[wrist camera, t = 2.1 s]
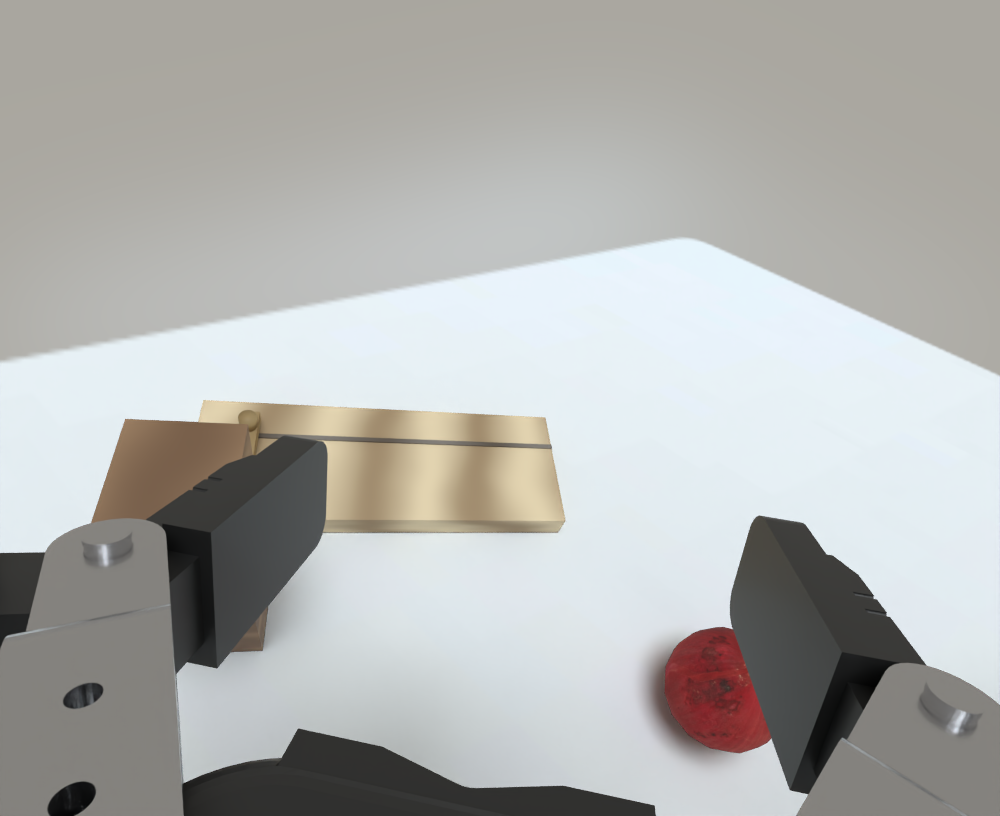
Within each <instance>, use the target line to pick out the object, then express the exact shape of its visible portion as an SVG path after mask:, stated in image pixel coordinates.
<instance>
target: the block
mask: <svg viewBox="0 0 1000 816" xmlns="http://www.w3.org/2000/svg"><path fill="white" fill-rule="evenodd" d="M238 421H239V424H230V423H206V422H183V421H159V420H135V419H125V422H124V425H123V428H122V431H121V434H120V437H119V440H118V443H117V446H116V449H115V452H114V455H113V458H112V461H111V464H110V467H109V470H108V473H107V476H106V479H105V482H104V485H103V488H102V491H101V494H100V498H99V501H98V504H97V507H96V510H95V513H94V516H93V519H92V522H91V523H94V522H99V521H104V520H110V519H122V518H132V519H142V520H146V519H147V518H149V517H150V516H152V515H153V514H155V513H156V512H157V511H159V510H160V509H162V508H163V507H165V506H166V505H168V504H169V503H170V502H172V501H173V500H175V499H176V498H178V497H179V496H181V495H182V494H183V493H185V492H186V491H188V490H192V489H193V487H194V486H195V485H196V484H198V483H199V482H201V481H202V480H204V479H208V476H210V475H211V474H212V473H214V472H215V471H217V470H218V469H220V468H221V467H223V466H224V465H225V464H227V463H230V462H233V461H236V460H239V459H242V458H245V457H247V456H250V455H256V449H257V442H258V436H259V430H260V424H261V415H260V412H254V411H252V410H244V411H242V412H241V413H240V414H239V415H238ZM267 610H268V607H267V608H266V609H265V610H264V611H263V613H262V614H261V615H260V616H259V618H258V619H257V620H256V621H255V623H254V624H253V625H252V626H251V627H250V629H249V630H248V631H247V632H246V634H245V635H244V636H243V637H242V638H241V640H240V641H239V642H238V643H237V645H236V646H235V647H234V648H233V650H232V651H231V652H241V651H262V650H263V643H264V635H265V627H266V618H267Z"/></svg>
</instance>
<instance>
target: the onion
mask: <svg viewBox="0 0 1000 816" xmlns="http://www.w3.org/2000/svg"><path fill="white" fill-rule="evenodd" d="M665 696H666V699H667V702H668V705H669V708H670V710H671V713H672V715H673V716H674V718H675V719H676V720H677V721H678V723H679V724H680V725H681V726H682V727H683V729H684V730H685V731H686V732H687V734H688V735H689V736H690V737H692V738H694V739H696V740H697V741H699V742H701V743H702V744H704V745H706V746H707V747H709V748H712V749H717V750H723V751H728V752H734V753H742V752H745V751H748V750H752V749H755V748H758V747H760V746H762V745H764V744H766V743H767V742H768V741H769V740H770V739H771V735H770V732H769V729H768V727H767V724H766V721H765V718H764V715H763V712H762V710H761V707H760V704H759V701H758V698H757V695H756V693H755V690H754V687H753V684H752V681H751V678H750V676H749V673H748V670H747V667H746V664H745V661H744V659H743V656H742V653H741V650H740V647H739V644H738V642H737V639H736V636H735V633H734V630H733V629H729V628H725V627H716V628H710V629H705V630H700V631H698V632H695V633H693V634H691V635H690V636H688V637H687V638H685V639H684V640H683V641H681V642H680V643H679V644H678V645H677V646H676V648H675V649H674V650H673V653H672V655H671V657H670V659H669V661H668V663H667V665H666V670H665Z"/></svg>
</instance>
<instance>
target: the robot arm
mask: <svg viewBox="0 0 1000 816" xmlns="http://www.w3.org/2000/svg"><path fill="white" fill-rule="evenodd" d="M327 464H328V453H327V447H326V444H325V443H324V442H323V441H317V440H311V439H305V438H299V437H293V436H287V435H284V436H282V437H280V438H279V439H278V440H276V441H275V442H273V443H272V444H271V445H269V446H268V447H267V448H265V449H264V450H262V451H261V452H260V453H258V454H257V455H250V456H247V457H245V458H242V459H239V460H236V461H233V462H230V463H227V464H225V465H224V466H223V467H221V468H220V469H218V470H217V471H215V472H214V473H212V474H211V475H210V476H208V479H204V480H202V481H201V482H199V483H198V484H196V485H195V486H194V487H193V489H192V490H188V491H186V492H185V493H183V494H182V495H181V496H179V497H178V498H176V499H175V500H173V501H172V502H170V503H169V504H168V505H166V506H165V507H163V508H162V509H160V510H159V511H157V512H156V513H155V514H153V515H152V516H150V517H149V518H147V519H146V520H142V519H132V518H122V519H110V520H104V521H99V522H94V523H90V524H87V525H84V526H81V527H78V528H76V529H73V530H71V531H69V532H67V533H65V534H63V535H62V536H60V537H59V538H57V539H56V540H55V541H53V542H52V543H51V544H50V546H49V547H48V548H47V550H46V552H45V553H0V816H656V814H655V806H654V805H650V804H645V803H640V802H636V801H631V800H626V799H622V798H617V797H612V796H608V795H603V794H599V793H594V792H589V791H585V790H580V789H575V788H571V787H566V786H540V787H504V788H468V787H464V786H461V785H459V784H456V783H454V782H452V781H450V780H448V779H446V778H444V777H442V776H440V775H438V774H436V773H434V772H432V771H430V770H428V769H426V768H424V767H422V766H420V765H418V764H416V763H414V762H412V761H410V760H408V759H406V758H404V757H402V756H400V755H398V754H396V753H394V752H392V751H390V750H388V749H386V748H384V747H381V746H376V745H372V744H367V743H362V742H358V741H353V740H348V739H344V738H339V737H335V736H330V735H325V734H321V733H316V732H311V731H307V730H302V729H298V730H297V732H296V733H295V735H294V737H293V739H292V741H291V742H290V744H289V746H288V748H287V750H286V751H285V753H284V755H283V757H282V758H276V759H264V760H257V761H250V762H245V763H241V764H237V765H233V766H228V767H225V768H222V769H219V770H216V771H213V772H210V773H207V774H204V775H201V776H199V777H197V778H195V779H193V780H190V781H188V782H186V783H184V782H183V767H182V752H181V737H180V722H179V707H178V692H177V678H176V674H177V673H178V671H179V670H180V669H181V668H182V667H183V666H184V665H185V664H186V662H189V663H194V664H199V665H203V666H208V667H213V668H218V667H219V665H220V664H221V663H222V662H223V661H224V659H225V658H226V657H227V656H228V654H229V653H230V652H231V651H232V650H233V648H234V647H235V646H236V645H237V643H238V642H239V641H240V640H241V638H242V637H243V636H244V635H245V634H246V632H247V631H248V630H249V629H250V627H251V626H252V625H253V624H254V623H255V621H256V620H257V619H258V618H259V616H260V615H261V614H262V613H263V611H264V610H265V609H266V608H267V607H268V605H269V604H270V603H271V602H272V600H273V599H274V598H275V597H276V596H277V594H278V593H279V592H280V591H281V589H282V588H283V587H284V586H285V585H286V583H287V582H288V581H289V580H290V578H291V577H292V576H293V575H294V573H295V572H296V571H297V570H298V569H299V567H300V566H301V565H302V564H303V562H304V561H305V560H306V559H307V558H308V556H309V555H310V554H311V553H312V551H313V550H314V549H315V548H316V546H317V545H318V543H319V541H320V539H321V536H322V533H323V530H324V526H325V520H326V501H327ZM873 596H874V595H873V594H872V593H871V591H870V590H869V589H868V587H867V586H866V585H865V583H864V582H863V581H862V579H861V578H860V577H859V575H858V574H856V573H855V572H854V571H852V570H851V569H850V568H848V567H847V566H846V565H844V564H843V563H842V562H841V561H839V560H838V559H837V558H835V557H834V556H832V555H826V553H825V552H824V550H823V549H822V548H821V546H820V545H819V543H818V542H817V541H816V539H815V538H814V536H813V535H812V533H811V532H810V531H809V529H808V528H807V526H806V525H805V524H803V523H800V522H794V521H788V520H782V519H776V518H770V517H764V516H757V517H756V518H755V519H754V521H753V522H752V524H751V527H750V530H749V533H748V537H747V540H746V543H745V547H744V550H743V554H742V557H741V561H740V564H739V568H738V571H737V575H736V578H735V581H734V585H733V589H732V593H731V600H730V618H731V624H732V627H733V630H734V633H735V636H736V639H737V642H738V644H739V647H740V650H741V653H742V656H743V659H744V661H745V664H746V667H747V670H748V673H749V676H750V678H751V681H752V684H753V687H754V690H755V693H756V695H757V698H758V701H759V704H760V707H761V710H762V712H763V715H764V718H765V721H766V724H767V727H768V729H769V732H770V735H771V738H772V741H773V744H774V747H775V749H776V752H777V755H778V758H779V761H780V764H781V766H782V769H783V772H784V775H785V778H786V781H787V783H788V786H789V789H790V790H791V791H796V792H801V793H805V794H808V796H807V798H806V800H805V801H804V803H803V805H802V807H801V808H800V810H799V812H798V814H797V815H796V816H1000V705H999V704H998V703H997V702H995V701H994V700H993V699H992V698H990V697H989V696H988V695H986V694H985V693H984V692H982V691H981V690H979V689H977V688H976V687H974V686H973V685H971V684H969V683H967V682H965V681H964V680H962V679H960V678H958V677H956V676H953V675H951V674H949V673H947V672H944V671H941V670H939V669H936V668H932V667H929V666H926V664H925V663H924V662H923V660H922V659H921V658H920V656H919V655H918V654H917V652H916V651H915V650H914V648H913V647H912V646H911V644H910V643H909V642H908V640H907V639H906V638H905V636H904V635H903V634H902V632H901V631H900V630H899V628H898V627H897V626H896V624H895V623H894V622H893V620H892V619H891V618H890V617H887V616H886V613H887V612H886V611H885V610H884V608H883V607H882V606H881V604H880V603H879V602H878V600H877V599H873Z"/></svg>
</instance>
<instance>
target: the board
mask: <svg viewBox="0 0 1000 816" xmlns="http://www.w3.org/2000/svg"><path fill="white" fill-rule="evenodd" d="M244 410H252V411H254V412H260V415H261V424H260V430H259V436H258V442H257V449H256V455H257V454H258V453H260V452H261V451H262V450H264V449H265V448H267V447H268V446H269V445H271V444H272V443H273V442H275V441H276V440H278V439H279V438H280V437H282V436H284V435H287V436H293V437H299V438H305V439H311V440H317V441H323V442H324V443H325V444H326V447H327V453H328V464H327V501H326V520H325V526H324V530H323V532H558V531H559V530H560V528H561V527H562V525H563V524H564V522H565V516H564V511H563V505H562V500H561V495H560V490H559V485H558V480H557V475H556V470H555V465H554V460H553V454H552V446H551V444H550V439H549V434H548V429H547V424H546V419H545V418H544V417H524V416H504V415H485V414H465V413H445V412H426V411H406V410H386V409H367V408H347V407H327V406H308V405H288V404H268V403H249V402H229V401H209V400H203V404H202V408H201V412H200V417H199V421H198V422H206V423H230V424H239V421H238V415H239V414H240V413H241V412H242V411H244Z"/></svg>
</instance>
